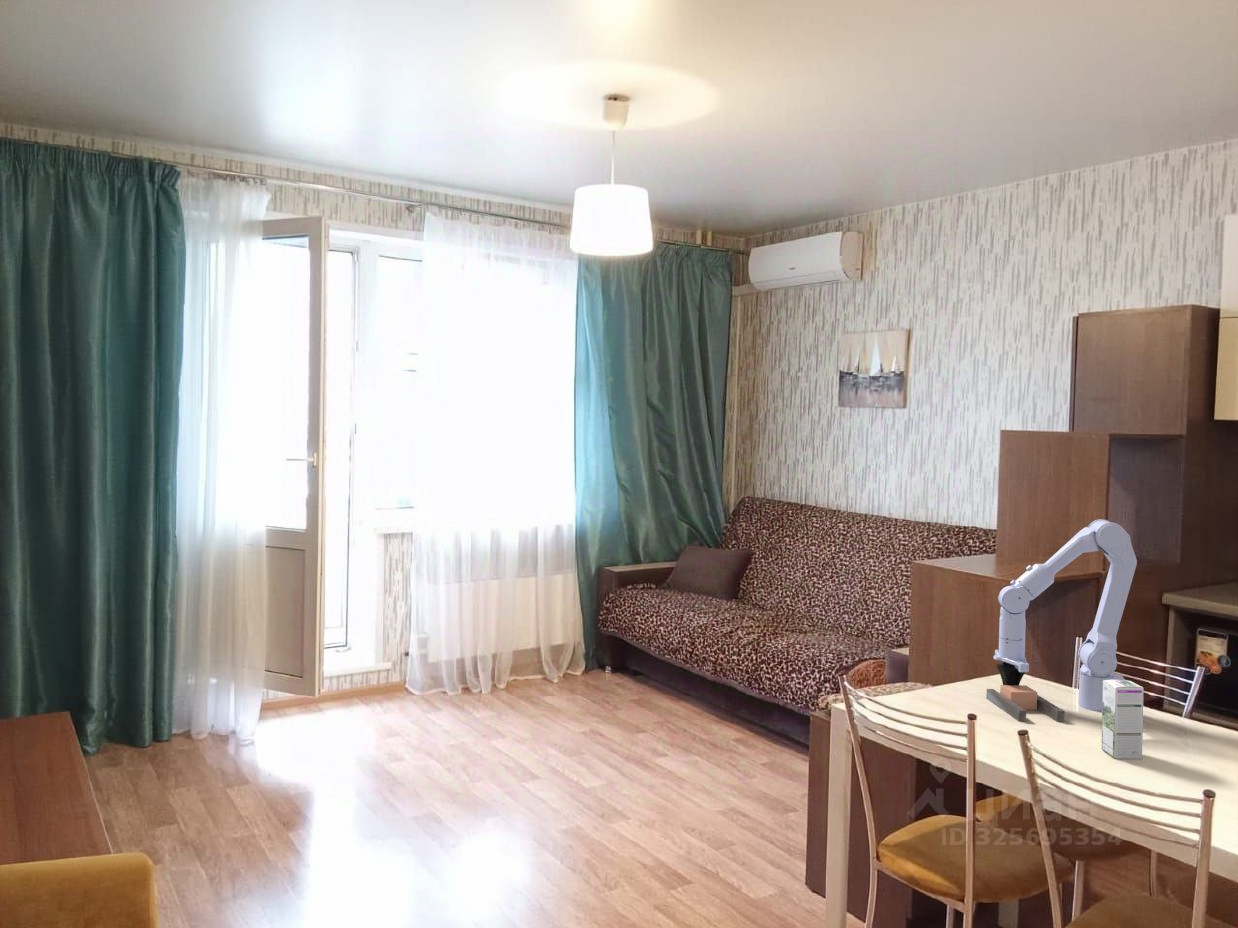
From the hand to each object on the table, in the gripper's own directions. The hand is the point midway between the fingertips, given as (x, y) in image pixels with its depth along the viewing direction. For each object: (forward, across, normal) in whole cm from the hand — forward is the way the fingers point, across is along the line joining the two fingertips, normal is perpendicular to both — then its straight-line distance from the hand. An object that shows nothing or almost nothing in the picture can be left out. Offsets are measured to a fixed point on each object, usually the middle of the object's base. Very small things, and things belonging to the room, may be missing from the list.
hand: (1010, 695), depth 231 cm
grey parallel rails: (+2, +7, 0) cm, 8 cm away
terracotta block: (+1, +4, 0) cm, 5 cm away
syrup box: (+3, +34, +8) cm, 35 cm away
